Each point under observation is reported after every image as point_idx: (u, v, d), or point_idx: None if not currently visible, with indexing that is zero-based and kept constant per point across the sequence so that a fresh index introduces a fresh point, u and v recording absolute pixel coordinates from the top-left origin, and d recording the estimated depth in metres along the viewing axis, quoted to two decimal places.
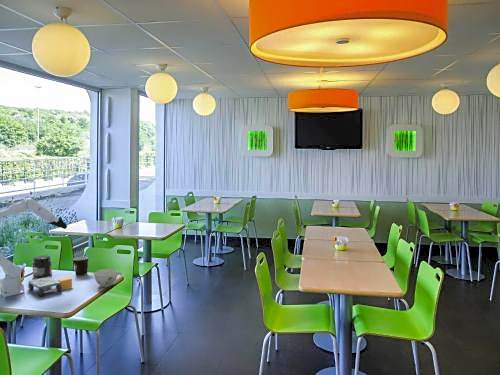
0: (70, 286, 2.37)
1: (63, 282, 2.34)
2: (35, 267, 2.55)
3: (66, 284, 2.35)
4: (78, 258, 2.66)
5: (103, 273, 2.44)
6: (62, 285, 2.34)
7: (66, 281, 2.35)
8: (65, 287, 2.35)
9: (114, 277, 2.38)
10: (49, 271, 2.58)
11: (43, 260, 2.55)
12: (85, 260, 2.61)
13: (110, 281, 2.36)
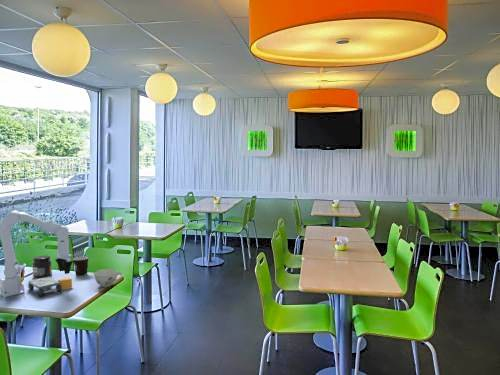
0: (70, 286, 2.37)
1: (63, 282, 2.34)
2: (35, 267, 2.55)
3: (66, 284, 2.35)
4: (78, 258, 2.66)
5: (103, 273, 2.44)
6: (62, 285, 2.34)
7: (66, 281, 2.35)
8: (65, 287, 2.35)
9: (114, 277, 2.38)
10: (49, 271, 2.58)
11: (43, 260, 2.55)
12: (85, 260, 2.61)
13: (110, 281, 2.36)
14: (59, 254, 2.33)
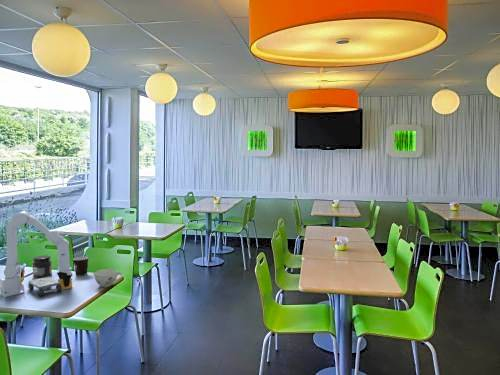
0: (70, 286, 2.37)
1: (63, 282, 2.34)
2: (35, 267, 2.55)
3: None
4: (78, 258, 2.66)
5: (103, 273, 2.44)
6: (62, 285, 2.34)
7: None
8: (65, 287, 2.35)
9: (114, 277, 2.38)
10: (49, 271, 2.58)
11: (43, 260, 2.55)
12: (85, 260, 2.61)
13: (110, 281, 2.36)
14: (60, 267, 2.33)
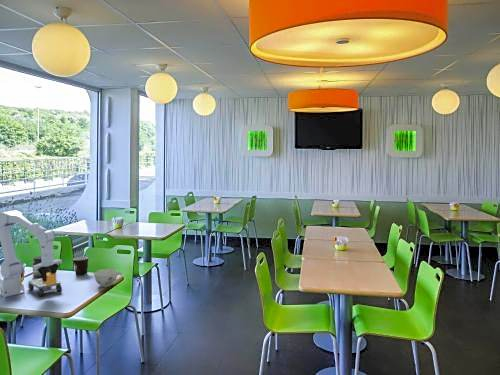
0: (48, 283, 2.18)
1: None
2: None
3: None
4: (78, 258, 2.66)
5: (103, 273, 2.44)
6: None
7: None
8: (45, 282, 2.20)
9: (114, 277, 2.38)
10: (49, 271, 2.58)
11: None
12: (85, 260, 2.61)
13: (110, 281, 2.36)
14: None
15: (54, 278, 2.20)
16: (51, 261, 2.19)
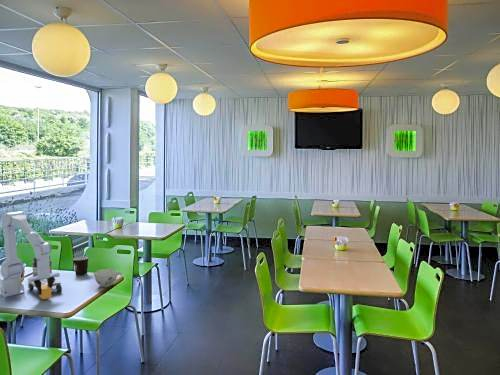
0: (42, 297, 2.15)
1: None
2: (35, 267, 2.55)
3: (41, 293, 2.16)
4: (78, 258, 2.66)
5: (103, 273, 2.44)
6: None
7: None
8: (40, 295, 2.17)
9: (114, 277, 2.38)
10: None
11: None
12: (85, 260, 2.61)
13: (110, 281, 2.36)
14: None
15: (49, 292, 2.16)
16: (46, 274, 2.16)
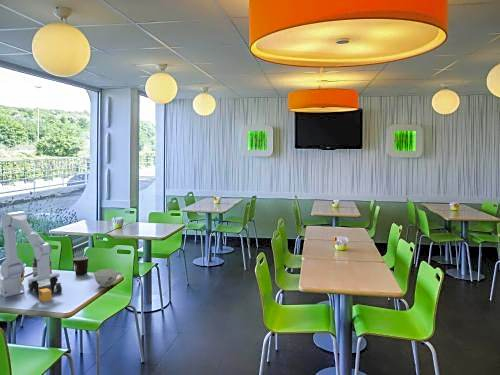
0: (42, 300, 2.15)
1: (39, 292, 2.17)
2: (35, 267, 2.55)
3: (41, 295, 2.16)
4: (78, 258, 2.66)
5: (103, 273, 2.44)
6: (39, 295, 2.18)
7: (40, 292, 2.16)
8: (40, 298, 2.17)
9: (114, 277, 2.38)
10: None
11: None
12: (85, 260, 2.61)
13: (110, 281, 2.36)
14: None
15: (49, 295, 2.16)
16: (46, 275, 2.16)
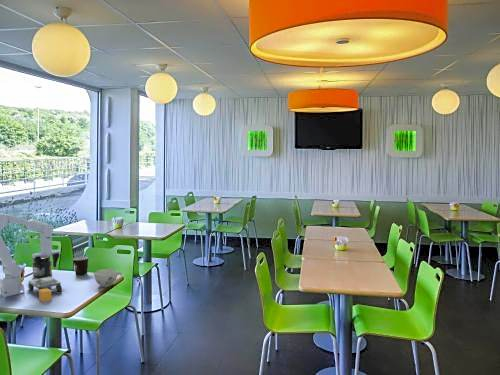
0: (42, 300, 2.15)
1: (39, 292, 2.17)
2: (35, 267, 2.55)
3: (41, 295, 2.16)
4: (78, 258, 2.66)
5: (103, 273, 2.44)
6: (39, 295, 2.18)
7: (40, 292, 2.16)
8: (40, 298, 2.17)
9: (114, 277, 2.38)
10: (49, 271, 2.58)
11: (43, 260, 2.55)
12: (85, 260, 2.61)
13: (110, 281, 2.36)
14: None
15: (49, 295, 2.16)
16: (48, 251, 2.40)
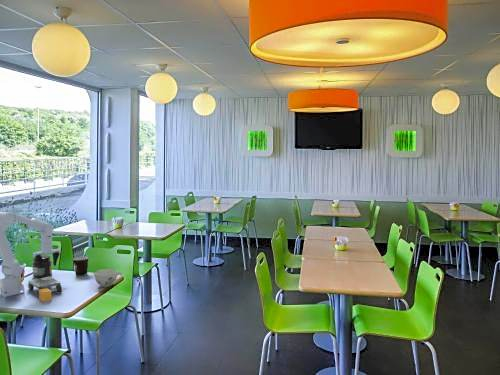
0: (42, 300, 2.15)
1: (39, 292, 2.17)
2: (35, 267, 2.55)
3: (41, 295, 2.16)
4: (78, 258, 2.66)
5: (103, 273, 2.44)
6: (39, 295, 2.18)
7: (40, 292, 2.16)
8: (40, 298, 2.17)
9: (114, 277, 2.38)
10: (49, 271, 2.58)
11: (43, 260, 2.55)
12: (85, 260, 2.61)
13: (110, 281, 2.36)
14: None
15: (49, 295, 2.16)
16: (49, 250, 2.44)
